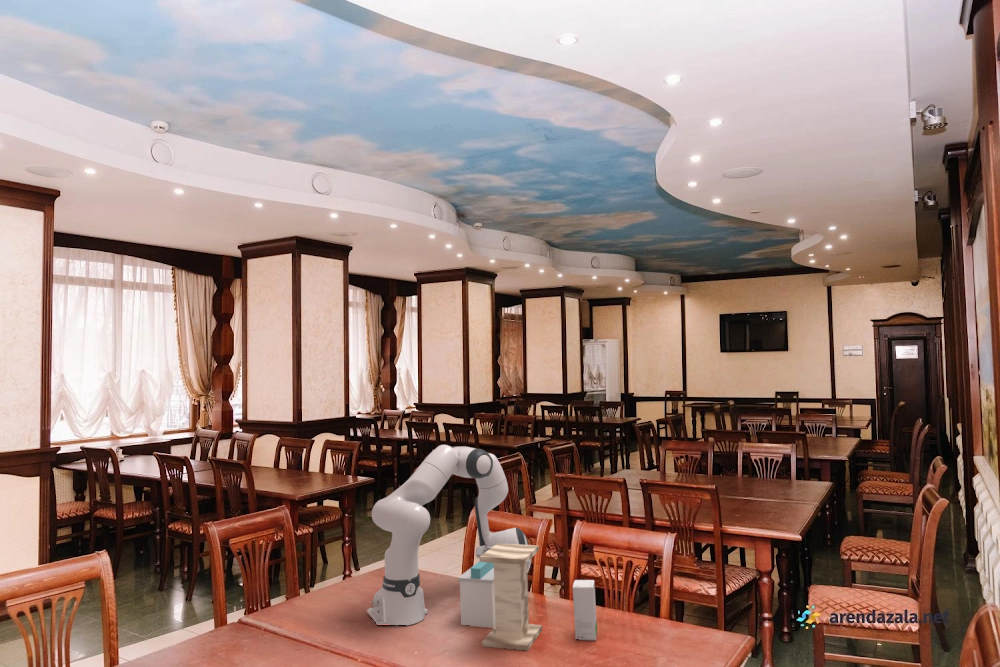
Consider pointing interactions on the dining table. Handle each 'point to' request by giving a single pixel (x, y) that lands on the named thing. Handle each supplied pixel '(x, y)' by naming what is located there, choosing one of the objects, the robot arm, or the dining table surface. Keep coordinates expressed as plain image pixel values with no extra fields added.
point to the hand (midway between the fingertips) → (497, 548)
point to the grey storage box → (477, 600)
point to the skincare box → (584, 610)
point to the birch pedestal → (511, 597)
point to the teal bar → (481, 569)
